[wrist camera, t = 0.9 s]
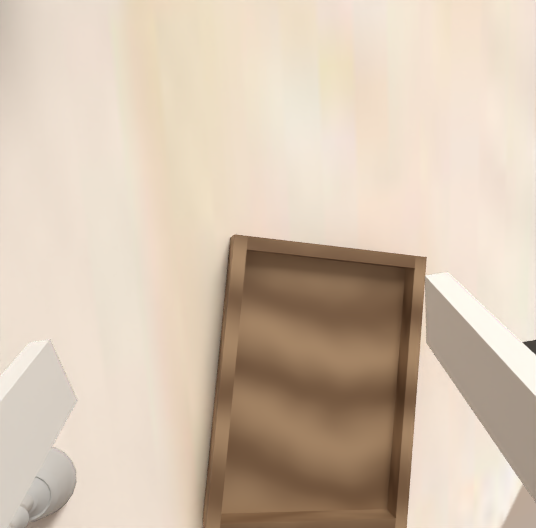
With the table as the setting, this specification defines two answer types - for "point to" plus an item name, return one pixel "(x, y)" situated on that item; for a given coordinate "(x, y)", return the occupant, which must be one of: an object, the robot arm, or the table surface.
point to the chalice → (47, 489)
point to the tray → (315, 387)
